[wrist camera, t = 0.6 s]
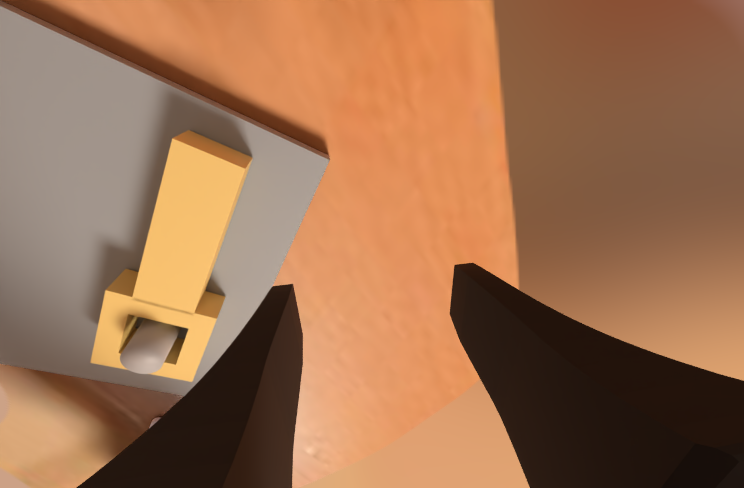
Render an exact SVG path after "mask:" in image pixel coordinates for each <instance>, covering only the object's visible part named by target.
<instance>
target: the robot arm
mask: <svg viewBox="0 0 744 488" xmlns="http://www.w3.org/2000/svg"><path fill="white" fill-rule="evenodd" d="M450 316H451V318H452V321H453V324H454V327H455V329H456V332H457V334H458V337H459V339H460V342H461V344H462V345H463V347H464V349H465V351H466V353H467V355H468V357H469V359H470V360H471V362H472V364H473V366H474V368H475V370H476V371H477V373H478V375H479V377H480V379H481V381H482V382H483V384H484V386H485V388H486V390H487V391H488V393H489V395H490V397H491V399H492V401H493V403H494V405H495V407H496V409H497V411H498V413H499V415H500V417H501V419H502V421H503V423H504V426H505V428H506V431H507V433H508V435H509V438H510V440H511V442H512V444H513V447H514V449H515V452H516V454H517V457H518V459H519V462H520V464H521V467H522V469H523V472H524V474H525V476H526V479H527V481H528V484H529V486H530V488H744V381H742V380H739V379H735V378H731V377H727V376H724V375H720V374H717V373H714V372H711V371H707V370H704V369H701V368H698V367H695V366H692V365H689V364H685V363H682V362H679V361H676V360H673V359H670V358H667V357H664V356H662V355H659V354H656V353H653V352H650V351H647V350H645V349H642V348H640V347H637V346H634V345H632V344H629V343H626V342H624V341H621V340H619V339H616V338H614V337H611V336H609V335H607V334H604V333H602V332H600V331H597V330H595V329H593V328H591V327H589V326H586V325H584V324H582V323H580V322H578V321H576V320H573V319H571V318H569V317H567V316H565V315H563V314H561V313H559V312H557V311H556V310H554V309H552V308H550V307H548V306H546V305H544V304H542V303H541V302H539V301H537V300H535V299H533V298H532V297H530V296H528V295H526V294H525V293H523V292H521V291H520V290H518V289H516V288H515V287H513V286H511V285H510V284H508V283H506V282H505V281H503V280H501V279H500V278H498V277H496V276H495V275H493V274H491V273H490V272H488V271H486V270H485V269H483V268H481V267H480V266H478V265H476V264H474V263H467V264H459V265H455V266H454V276H453V286H452V296H451V307H450ZM302 365H303V333H302V328H301V323H300V318H299V313H298V307H297V302H296V297H295V292H294V287H293V284H289V285H280V286H273V287H272V288H271V289H270V290H269V292H268V293H267V295H266V296H265V298H264V299H263V301H262V302H261V304H260V305H259V307H258V308H257V310H256V311H255V312H254V314H253V315H252V317H251V318H250V320H249V321H248V322H247V324H246V325H245V326H244V328H243V329H242V330H241V332H240V333H239V334H238V336H237V337H236V338H235V340H234V341H233V342H232V343H231V345H230V346H229V347H228V348H227V349H226V351H225V352H224V353H223V354H222V356H221V357H220V358H219V359H218V360H217V362H216V363H215V364H214V365H213V366H212V367H211V368H210V370H209V371H208V372H207V373H206V374H205V375H204V376H203V377H202V378H201V379H200V380H199V382H198V383H197V384H196V385H195V386H194V387H193V388H192V389H191V390H190V391H189V392H188V393H187V394H186V395H185V396H184V397H183V398H182V399H181V400H180V401H179V402H178V403H177V404H175V405H174V406H173V407H172V408H171V409H170V410H169V411H168V412H167V413H166V414H165V415H163V416H162V417H158V418H154V419H153V420H152V422H151V424H150V427H149V429H148V430H147V431H146V432H145V433H144V434H142V435H141V436H140V437H139V438H138V439H137V440H135V441H134V442H133V443H132V444H131V445H129V446H128V447H127V448H126V449H125V450H124V451H122V452H121V453H120V454H119V455H117V456H116V457H115V458H114V459H112V460H111V461H110V462H109V463H107V464H106V465H105V466H104V467H102V468H101V469H100V470H99V471H97V472H96V473H95V474H94V475H92V476H91V477H90V478H89V479H87V480H86V481H85V482H83V483H82V484H81V485H80V486H78V487H77V488H292V465H293V445H294V433H295V425H296V416H297V408H298V400H299V391H300V382H301V374H302Z"/></svg>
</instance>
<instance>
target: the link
mask: <svg viewBox="0 0 744 488" xmlns="http://www.w3.org/2000/svg"><path fill="white" fill-rule="evenodd" d="M252 159H253V158H252V157H250V156H248V155H246V154H243V153H241V152H239V151H236V150H234V149H232V148H229V147H227V146H225V145H222V144H220V143H218V142H216V141H213V140H211V139H209V138H206V137H204V136H202V135H199V134H197V133H195V132H193V131H190V130H188V131H186V132H184V133H182V134H180V135H178V136H176V137H174V138H172V142H171V146H170V150H169V154H168V158H167V162H166V166H165V170H164V174H163V178H162V181H161V185H160V189H159V193H158V197H157V201H156V205H155V209H154V213H153V217H152V221H151V225H150V229H149V233H148V237H147V241H146V245H145V249H144V253H143V257H142V261H141V265H140V269H139V272H136V271H133V270H129V269H125V270H124V271H123V272H122V273H121V274H120V275H119V276H118V277H117V278H116V279H115V281H114V282H113V283H112V284H111V285H110V286H109V287H108V288H107V289H106V290H105V295H104V300H103V304H102V309H101V314H100V319H99V324H98V328H97V333H96V338H95V343H94V347H93V352H92V357H91V362H90V363H94V364H100V365H105V366H110V367H115V368H121V369H126V368H125V367H124V366H123V365H122V364H121V362H120V355H121V353H122V352H123V350H124V349H125V347H126V346H127V344H128V343H129V341H130V340H131V338H132V337H133V335H134V334H135V332H136V331H137V330H138V329H137V328H136V324H137V320H138V317H142V318H146V319H150V320H155V321H159V322H163V323H167V324H171V325H175V326H180V327H184V328H188V332H187V335H186V338H185V339H181V338H176V340H175V342H174V344H173V346H172V348H171V350H170V352H169V354H168V356H167V357H166V359H165V361H164V363H163V365H162V367H161V368H160V369H159V370H158V371H156V372H153V373H149V374H152V375H158V376H163V377H168V378H173V379H179V380H184V381H189V382H192V381H193V379H194V376H195V374H196V371H197V369H198V366H199V364H200V361H201V358H202V356H203V353H204V351H205V348H206V346H207V343H208V341H209V338H210V336H211V333H212V330H213V328H214V325H215V323H216V320H217V318H218V315H219V313H220V310H221V308H222V305H223V302H224V300H225V296H221V295H218V294H214V293H211V292H207V291H205V290H206V287H207V284H208V282H209V279H210V276H211V273H212V270H213V268H214V265H215V262H216V259H217V256H218V254H219V251H220V248H221V245H222V242H223V240H224V237H225V234H226V231H227V229H228V226H229V223H230V220H231V217H232V215H233V212H234V209H235V206H236V203H237V201H238V198H239V195H240V192H241V189H242V187H243V184H244V181H245V178H246V176H247V173H248V170H249V167H250V164H251V162H252ZM126 370H128V369H126Z"/></svg>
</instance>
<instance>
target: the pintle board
mask: <svg viewBox="0 0 744 488" xmlns="http://www.w3.org/2000/svg"><path fill="white" fill-rule="evenodd" d="M188 130H190V131H193V132H195V133H197V134H199V135H202V136H204V137H206V138H209V139H211V140H213V141H216V142H218V143H220V144H222V145H225V146H227V147H229V148H232V149H234V150H236V151H239V152H241V153H243V154H246V155H248V156H250V157H252V158H253V159H252V162H251V164H250V167H249V170H248V173H247V176H246V178H245V181H244V184H243V187H242V189H241V192H240V195H239V198H238V201H237V203H236V206H235V209H234V212H233V215H232V217H231V220H230V223H229V226H228V229H227V231H226V234H225V237H224V240H223V242H222V245H221V248H220V251H219V254H218V256H217V259H216V262H215V265H214V268H213V270H212V273H211V276H210V279H209V282H208V284H207V287H206V290H205V291H207V292H211V293H214V294H218V295H221V296H225V300H224V302H223V305H222V308H221V310H220V313H219V315H218V318H217V320H216V323H215V325H214V328H213V330H212V333H211V336H210V338H209V341H208V343H207V346H206V348H205V351H204V353H203V356H202V358H201V361H200V364H199V366H198V369H197V371H196V374H195V376H194V379H193V381H192V382H189V381H184V380H179V379H173V378H168V377H163V376H158V375H152V374H149V373H153V372H156V371H158V370H159V369H160V368H161V367H162V365H163V363H164V361H165V359H166V357H167V356H168V354H169V352H170V350H171V348H172V346H173V344H174V342H175V340H176V338H181V339H185V338H186V335H187V332H188V328H184V327H180V326H175V325H171V324H167V323H163V322H159V321H155V320H150V319H146V318H142V317H138V320H137V324H136V328H137V329H138V330H137V331H136V332H135V334H134V335H133V337H132V338H131V340H130V341H129V343H128V344H127V346H126V347H125V349H124V350H123V352H122V353H121V355H120V362H121V364H122V365H123V366H124V367H125V368H126V369H128V370H126V369H121V368H115V367H110V366H105V365H100V364H94V363H90V362H91V357H92V352H93V347H94V343H95V338H96V333H97V328H98V324H99V319H100V314H101V309H102V304H103V300H104V295H105V290H106V289H107V288H108V287H109V286H110V285H111V284H112V283H113V282H114V281H115V279H116V278H117V277H118V276H119V275H120V274H121V273H122V272H123V271H124V270H125V269H129V270H133V271H136V272H139V269H140V265H141V261H142V257H143V253H144V249H145V245H146V241H147V237H148V233H149V229H150V225H151V221H152V217H153V213H154V209H155V205H156V201H157V197H158V193H159V189H160V185H161V181H162V178H163V174H164V170H165V166H166V162H167V158H168V154H169V150H170V146H171V142H172V138H174V137H176V136H178V135H180V134H182V133H184V132H186V131H188ZM329 161H330V158H329V155H327V154H325V153H323V152H321V151H318V150H316V149H314V148H312V147H310V146H308V145H306V144H304V143H301V142H299V141H297V140H295V139H293V138H291V137H289V136H287V135H285V134H282V133H280V132H278V131H276V130H274V129H272V128H270V127H268V126H266V125H263V124H261V123H259V122H257V121H255V120H253V119H251V118H249V117H247V116H244V115H242V114H240V113H238V112H236V111H234V110H232V109H230V108H228V107H225V106H223V105H221V104H219V103H217V102H215V101H213V100H211V99H208V98H206V97H204V96H202V95H200V94H198V93H196V92H194V91H192V90H189V89H187V88H185V87H183V86H181V85H179V84H177V83H175V82H173V81H170V80H168V79H166V78H164V77H162V76H160V75H158V74H156V73H154V72H151V71H149V70H147V69H145V68H143V67H141V66H139V65H137V64H135V63H132V62H130V61H128V60H126V59H124V58H122V57H120V56H118V55H115V54H113V53H111V52H109V51H107V50H105V49H103V48H101V47H99V46H96V45H94V44H92V43H90V42H88V41H86V40H84V39H82V38H80V37H77V36H75V35H73V34H71V33H69V32H67V31H65V30H63V29H61V28H58V27H56V26H54V25H52V24H50V23H48V22H46V21H44V20H41V19H39V18H37V17H35V16H33V15H31V14H29V13H27V12H25V11H22V10H20V9H18V8H16V7H14V6H12V5H10V4H8V3H6V2H3V1H1V0H0V364H4V365H10V366H16V367H22V368H27V369H33V370H39V371H45V372H50V373H56V374H62V375H67V376H73V377H79V378H85V379H90V380H96V381H102V382H107V383H113V384H119V385H125V386H130V387H136V388H142V389H148V390H153V391H159V392H165V393H170V394H176V395H182V396H185V395H186V394H187V393H188V392H189V391H190V390H191V389H192V388H193V387H194V386H195V385H196V384H197V383H198V382H199V380H200V379H201V378H202V377H203V376H204V375H205V374H206V373H207V372H208V371H209V370H210V368H211V367H212V366H213V365H214V364H215V363H216V362H217V360H218V359H219V358H220V357H221V356H222V354H223V353H224V352H225V351H226V349H227V348H228V347H229V346H230V345H231V343H232V342H233V341H234V340H235V338H236V337H237V336H238V334H239V333H240V332H241V330H242V329H243V328H244V326H245V325H246V324H247V322H248V321H249V320H250V318H251V317H252V315H253V314H254V312H255V311H256V310H257V308H258V307H259V305H260V304H261V302H262V301H263V299H264V298H265V296H266V295H267V293H268V292H269V290H270V289H271V288H272V286H273V284H274V281H275V279H276V277H277V275H278V273H279V270H280V268H281V266H282V264H283V262H284V260H285V257H286V255H287V253H288V251H289V249H290V246H291V244H292V242H293V240H294V238H295V235H296V233H297V231H298V229H299V227H300V224H301V222H302V220H303V218H304V216H305V213H306V211H307V209H308V207H309V205H310V202H311V200H312V198H313V196H314V194H315V191H316V189H317V187H318V185H319V183H320V181H321V178H322V176H323V174H324V172H325V170H326V167H327V165H328V163H329Z"/></svg>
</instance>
